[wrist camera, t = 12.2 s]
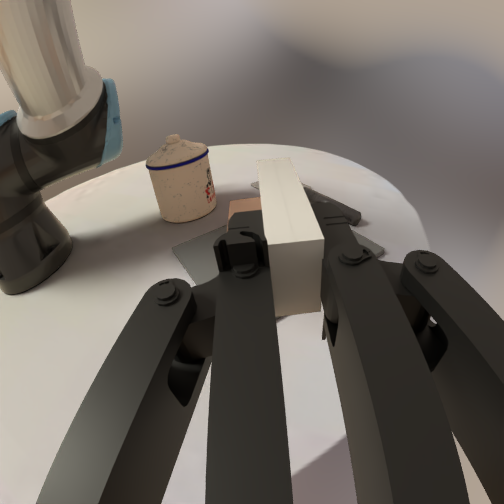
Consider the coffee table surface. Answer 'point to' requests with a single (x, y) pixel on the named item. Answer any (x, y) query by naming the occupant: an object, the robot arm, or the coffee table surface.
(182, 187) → the teacup with lid
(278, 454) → the robot arm
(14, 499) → the coffee table surface
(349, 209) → the turner
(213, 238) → the mat
